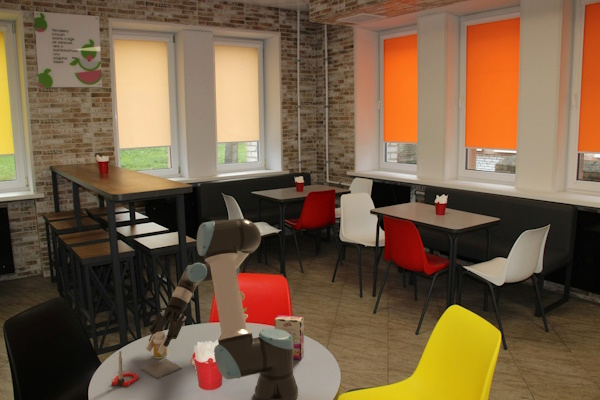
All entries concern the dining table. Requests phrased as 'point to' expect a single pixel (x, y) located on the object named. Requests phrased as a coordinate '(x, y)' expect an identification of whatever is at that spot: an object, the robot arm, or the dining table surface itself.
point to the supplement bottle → (156, 344)
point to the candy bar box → (293, 332)
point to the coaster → (161, 368)
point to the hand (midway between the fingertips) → (153, 351)
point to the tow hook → (123, 375)
